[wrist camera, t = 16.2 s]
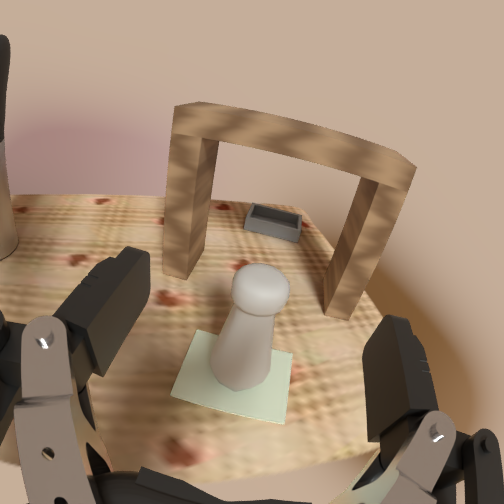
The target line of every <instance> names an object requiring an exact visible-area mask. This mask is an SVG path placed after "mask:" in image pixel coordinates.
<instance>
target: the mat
mask: <svg viewBox="0 0 504 504" xmlns="http://www.w3.org/2000/svg"><path fill="white" fill-rule="evenodd" d="M218 336H219V335H215V334H212V333H208V332H205V331H201V330H198V329H197V330H196V333H195V335H194V338H193V340H192V342H191V345H190V347H189V349H188V352H187V354H186V357H185V359H184V362H183V364H182V366H181V369H180V371H179V374H178V376H177V378H176V381H175V383H174V386H173V388H172V391H171V393H170V396H172V397H175V398H178V399H181V400H184V401H188V402H191V403H194V404H198V405H201V406H204V407H208V408H212V409H215V410H219V411H223V412H227V413H231V414H235V415H239V416H243V417H248V418H252V419H257V420H262V421H267V422H272V423H277V424H283V425H284V424H285V417H286V409H287V400H288V392H289V383H290V374H291V364H292V354H293V353H288V352H284V351H279V350H275V349H272V353H271V366H270V372H269V373H268V375H267V377H266V378H265V380H264V381H263V382H262V383H261V384H259V385H257V386H255V387H253V388H250V389H245V390H241V391H237V392H234V391H232V390H231V389H229V388H227V387H225V386H224V385H222V384H220V383H219V382H218V380H217V379H216V377H215V376H214V373H213V371H212V368H211V366H210V358H211V352H212V349H213V347H214V345H215V343H216V341H217V338H218Z"/></svg>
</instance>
